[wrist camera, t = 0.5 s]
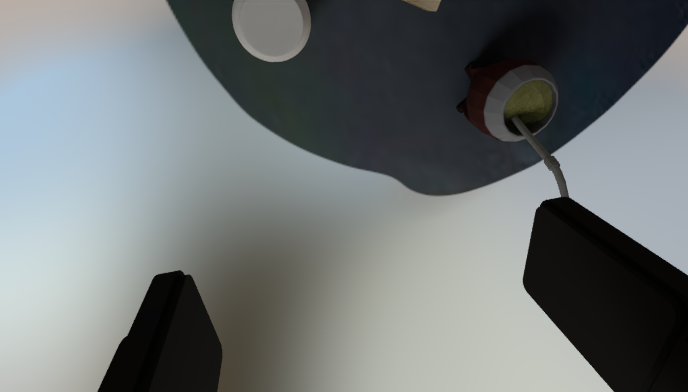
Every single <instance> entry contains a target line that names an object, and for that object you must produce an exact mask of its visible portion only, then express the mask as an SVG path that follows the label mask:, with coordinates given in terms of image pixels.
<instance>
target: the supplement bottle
mask: <svg viewBox="0 0 688 392" xmlns="http://www.w3.org/2000/svg"><path fill="white" fill-rule="evenodd" d="M232 21H233V27H234V30H235V33H236V35H237V37H238V39H239V41H240V42H241V44H242V45H243V47H244V48H245V49H246V50H247V51H248V52H250V53H251V54H252V55H254V56H255V57H257V58H259V59H262V60H265V61H269V62H281V61H285V60H288V59H290V58H292V57H294V56H295V55H297V54H298V53H299V52H300V51H301V50H302V49H303V47H304V46H305V44H306V42H307V40H308V38H309V34H310V29H311V17H310V11H309V8H308V5H307V2H306V0H234V3H233V8H232Z"/></svg>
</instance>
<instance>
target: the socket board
mask: <svg viewBox="0 0 688 392" xmlns="http://www.w3.org/2000/svg"><path fill="white" fill-rule="evenodd" d="M403 1H405V2H408V3H410V4H412V5H415V6H417V7H419V8H422V9H424V10H426V11H437V9H438V6H439V4H440V1H441V0H403Z"/></svg>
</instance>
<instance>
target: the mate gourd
mask: <svg viewBox="0 0 688 392" xmlns="http://www.w3.org/2000/svg"><path fill="white" fill-rule="evenodd" d="M465 71H466V73H467V75H468V76H469V78H470V80H471V81H472V84H471V85H470V87H469V90H468V95H467V98H466V99H464V100H463V101H462V102H461V103H460V104H459V105H458V106H457V107H456V108H457V110H458V111H459V112H460V113H462V112H464V115H465V116H466V118H467V120H469V121H470V122H471V123H472V124H473V125H474V126H476V127H477V128H478V129H479V130H480V131H481V132H483V133H485V134H487V135H489V136H491V137H493V138H495V139H497V140H502V141H519V140H522V139H525V138H526V139H527V140H528V141H529V143H530V144H531V145H532V146H533V147H534V149H535V150H536V151H537V152H538V153H539V154H540V156H541V157H542V158H543V159H544V163H545V165H546V166H547V167H548V169H549V170H550V171H552V172H553V174H554V176H555V178H556V181H557V184H558V187H559V190H560V194H561V197H569V195H568V191H567V186H566V181H565V179H564V176H563V174H562V171H561V169H560V164H559V162H558V161H557V160H556V158H555V157H554V156H551V155H550V154H549V153H548V152H547V151H546V149H545V148H544V147H543V146H542V145H541V144H540V143H539V141H538V140H537V139H536V138H535V137H534V136H533V135H535V134H537V133H538V132H539V131H541V130H542V129H543V128H545V127H546V126H547V124H548V123H549V122H550V120H551V119H552V117H553V116H554V114H555V111H556V108H557V105H558V87H557V85H556V83H555V81H554V79H553V77H552V75H551V73H550V72H548V71H547V70H545V69H544V68H542V67H540V66H539V65H537V64H536V63H534V62H532V61H529V60H516V59H507V60H503V61H500V62H497V63H494V64H491V65H489V66H487V67H477V68H475V67H474V66H473V64H469V65H468V66H467V67H466V68H465Z"/></svg>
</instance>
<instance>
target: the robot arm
mask: <svg viewBox="0 0 688 392" xmlns="http://www.w3.org/2000/svg"><path fill="white" fill-rule="evenodd" d="M523 285H524V288H525V290H526V291H527V293H528V294H529V295H530V296H531V297H532V298H533V299H534V301H535V302H536V303H537V304H538V305H539V306H540V308H541V309H542V310H543V311H544V312H545V313H546V314H547V315H548V317H549V318H550V319H551V320H552V321H553V322H554V324H555V325H556V326H557V327H558V328H559V329H560V330H561V332H562V333H563V334H564V335H565V336H566V337H567V338H568V340H569V341H570V342H571V343H572V344H573V345H574V346H575V348H576V349H577V350H578V351H579V352H580V353H581V355H583V357H584V358H585V359H586V360H587V361H588V362H589V364H590V365H591V366H592V367H593V368H594V369H595V371H596V372H597V373H598V374H599V375H600V376H601V377H602V378H603V380H604V381H605V382H606V383H607V384H608V385H609V387H610V388H611V389H612V390H613V391H614V392H688V275H687V274H685V273H683V272H682V271H680V270H679V269H677V268H676V267H674V266H673V265H671V264H670V263H668V262H667V261H665V260H663V259H662V258H661V257H659V256H658V255H656V254H654V253H653V252H652V251H650V250H648V249H647V248H645V247H644V246H642V245H641V244H639V243H638V242H636V241H635V240H633V239H632V238H630V237H629V236H627V235H626V234H624V233H622V232H621V231H620V230H618V229H616V228H615V227H613V226H612V225H610V224H609V223H607V222H606V221H604V220H603V219H601V218H600V217H598V216H597V215H595V214H594V213H592V212H591V211H589V210H588V209H586V208H584V207H583V206H581V205H580V204H578V203H577V202H575V201H574V200H572V199H571V198H569V197H559V198H555V199H549V200H545V201H543V202H542V203H541V205H540V207H538V208H537V209H536V212H535V218H534V223H533V228H532V233H531V239H530V244H529V249H528V255H527V260H526V265H525V270H524V275H523ZM221 363H222V348H221V343H220V341H219V339H218V336H217V334H216V331H215V329H214V327H213V324H212V322H211V320H210V317H209V315H208V313H207V310H206V308H205V306H204V304H203V301H202V299H201V296H200V294H199V292H198V289H197V287H196V285H195V282H194V280H193V278H192V277H191V275H184V273H183V272H182V271H180V270H179V271H174V272H169V273H163V274H158V275H156V276H155V277H154V278H153V280H152V282H151V284H150V287H149V289H148V291H147V293H146V295H145V298H144V300H143V302H142V304H141V307H140V309H139V311H138V313H137V316H136V318H135V320H134V322H133V324H132V327H131V329H130V331H129V334H128V336H126V337H125V338H124V339H123V340H122V341H121V343H120V344H119V346H118V349H117V351H116V353H115V355H114V357H113V359H112V361H111V363H110V366H109V368H108V370H107V372H106V375H105V376H104V379H103V381H102V383H101V385H100V388H99V389H98V392H217V389H218V382H219V376H220V369H221Z"/></svg>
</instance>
